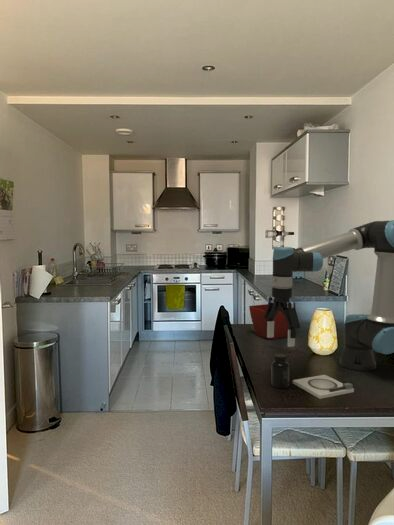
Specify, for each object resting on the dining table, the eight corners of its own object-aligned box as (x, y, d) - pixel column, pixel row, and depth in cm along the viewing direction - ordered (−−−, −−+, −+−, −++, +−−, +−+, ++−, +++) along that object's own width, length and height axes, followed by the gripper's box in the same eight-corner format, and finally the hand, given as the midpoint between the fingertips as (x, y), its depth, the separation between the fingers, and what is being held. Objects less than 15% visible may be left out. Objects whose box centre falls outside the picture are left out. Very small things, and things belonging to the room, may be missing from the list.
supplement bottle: (286, 382, 158) (287, 352, 157) (291, 388, 151) (291, 358, 150) (269, 382, 157) (269, 352, 156) (273, 389, 151) (273, 358, 150)
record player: (324, 377, 163) (324, 370, 163) (353, 391, 148) (354, 384, 148) (292, 383, 156) (292, 376, 156) (319, 398, 142) (320, 391, 142)
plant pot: (247, 333, 231) (248, 305, 230) (274, 330, 239) (275, 303, 238) (266, 342, 214) (267, 311, 213) (295, 338, 222) (295, 308, 221)
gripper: (256, 283, 161) (254, 334, 163) (294, 292, 138) (292, 351, 140) (271, 282, 164) (270, 333, 166) (311, 291, 141) (309, 349, 143)
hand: (280, 341), depth 153 cm, fingers open, 13 cm apart
